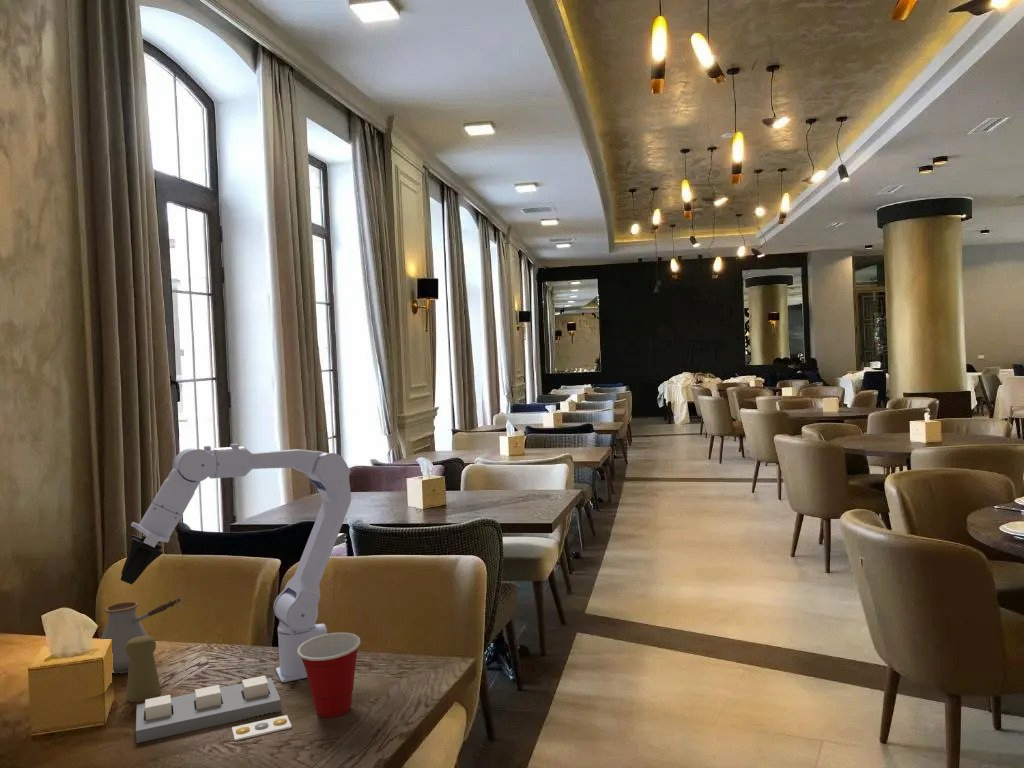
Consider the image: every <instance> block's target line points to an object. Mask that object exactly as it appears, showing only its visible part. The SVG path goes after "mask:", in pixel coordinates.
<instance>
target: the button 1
mask: <svg viewBox="0 0 1024 768" xmlns="http://www.w3.org/2000/svg"><path fill="white" fill-rule="evenodd" d="M171 698H172V697H171V694H167V695H162V696H157V697H155V698H151V699H146V700H145V701H144V703H145V712H146V720H150V719H155V718H160V717H164V716H169V715H172V711H171Z"/></svg>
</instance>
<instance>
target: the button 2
mask: <svg viewBox="0 0 1024 768" xmlns="http://www.w3.org/2000/svg"><path fill="white" fill-rule="evenodd" d="M266 678H267V677H266V675H260V676H255V677H251V678H246V679H242V680H241V681H242V682H241V683H242V686H243V695H244V699H249V698H254V697H259V696H263V695H268V694H269V691H268V682H267V679H266Z"/></svg>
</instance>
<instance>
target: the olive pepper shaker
mask: <svg viewBox="0 0 1024 768" xmlns="http://www.w3.org/2000/svg"><path fill="white" fill-rule="evenodd" d="M156 647H157V644H156V639H154V637H153V636H152V635H148V636H139V637H135V638H132V639H131V640H129V641H128V642H127V644H126V648H125V649H126V653H127V655H128V656H129V669H128V672H127V684H126V685H127V686H126V697H125V698H126V701H127V702H130V703H139V702H140V703H141V702H145V700H146V699H151V698H156V697H159V695H161V693H162V689H161V683H160V679H159V675H158V674H159V673H158V670H157V664H156V660H155V656H154V652H155V651H156V649H157V648H156Z"/></svg>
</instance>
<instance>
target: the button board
mask: <svg viewBox="0 0 1024 768" xmlns="http://www.w3.org/2000/svg"><path fill="white" fill-rule="evenodd" d="M266 679H267V682H268V691H269V694H268V695H263V696H259V697H254V698H249V699H244V695H243V686H242V682H241V683H236V684H234V685H228V686H222V687H219V688H220V692H221V705H216V706H212V707H207V708H202V709H196V700H195V692H194V693H193V692H192V693H188V694H183V695H179V696H173V697H171V711H172V715H169V716H164V717H160V718H155V719H150V720H146V712H145V702H144V703H139V704H136V710H135V711H136V712H135V713H136V714H135V716H136V718H135V721H136V722H135V738H136V744H139V743H144V742H147V741H151V740H152V741H153V740H157V739H158V740H159V739H161V738H162V739H163V738H167V737H170V736H176V735H178V734H179V735H180V734H183V733H188V732H193V731H197V730H201V729H202V730H203V729H207V728H212V727H216V726H219V725H224V724H229V723H234V722H238V720H239V721H243V720H247V718H248V719H252V718H256V717H255V716H257V717H260V716H259V715H261V716H265V715H264V714H266V715H269V714H268V713H270V714H273V712H275V713H279V712H282V701H281V697H280V695H279V692H278V690H277V688H276V685H275V683H274V681H273V679H272V677H268V678H267V677H266ZM251 717H252V718H251ZM242 719H243V720H242Z"/></svg>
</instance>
